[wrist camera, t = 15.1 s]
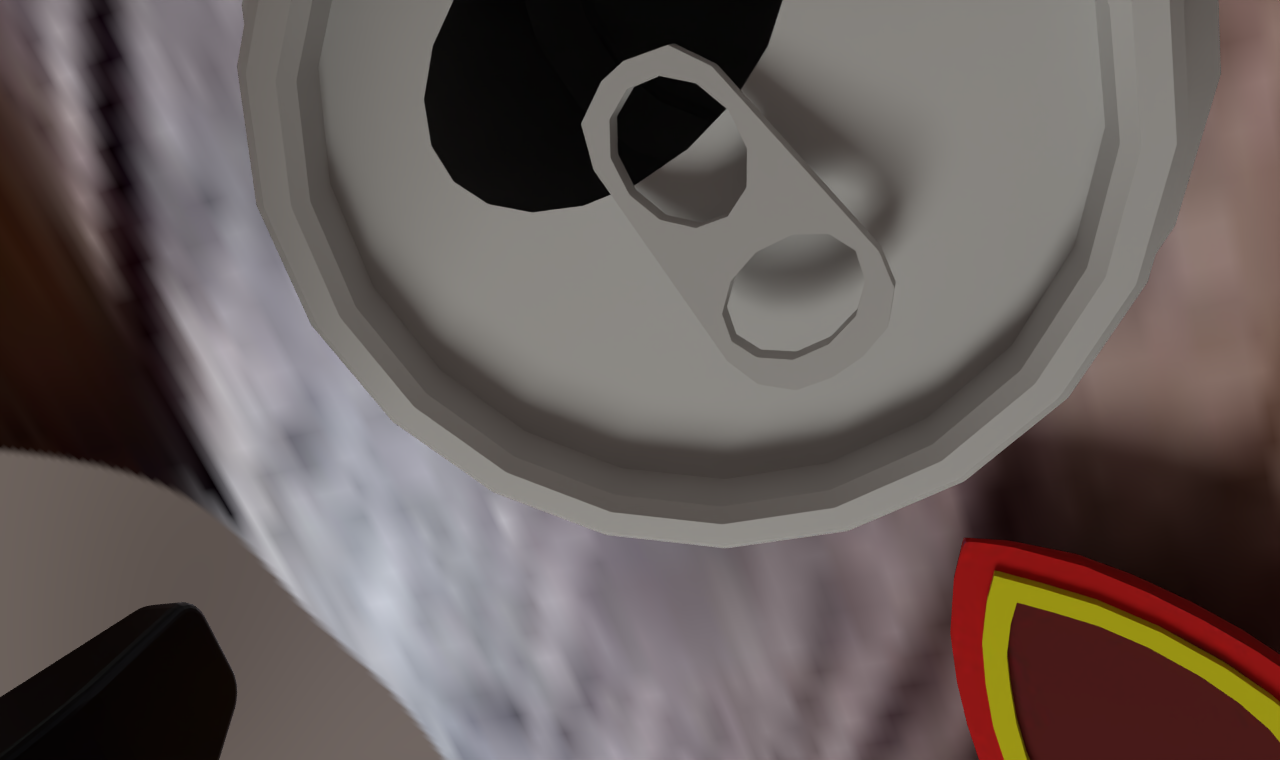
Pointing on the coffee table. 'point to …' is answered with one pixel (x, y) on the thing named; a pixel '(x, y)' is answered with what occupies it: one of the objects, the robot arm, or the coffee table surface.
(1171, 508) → the coffee table surface
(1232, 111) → the coffee table surface
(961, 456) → the can
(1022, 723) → the headphones
